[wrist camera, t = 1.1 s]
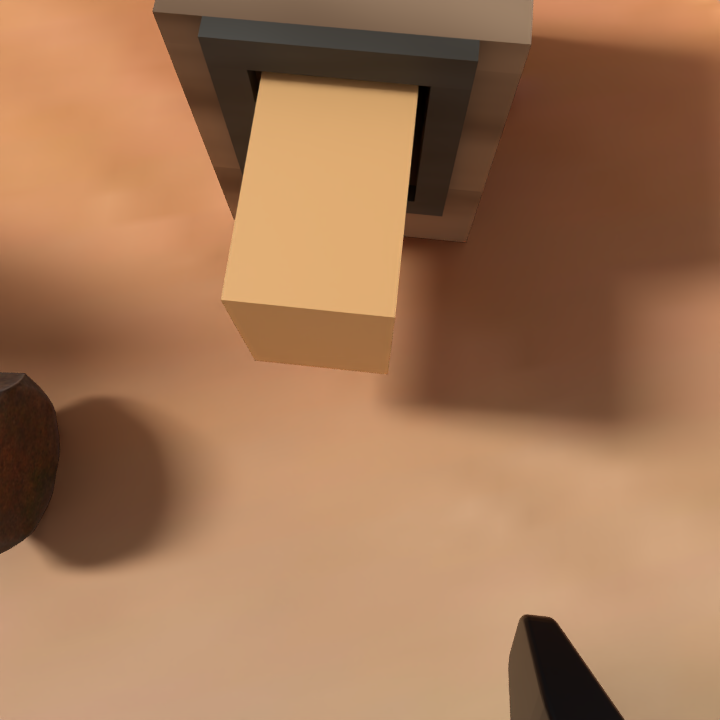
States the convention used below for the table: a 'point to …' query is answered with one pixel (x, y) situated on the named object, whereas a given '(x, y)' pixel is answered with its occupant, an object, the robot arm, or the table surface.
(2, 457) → the bolt
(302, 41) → the housing
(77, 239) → the table surface
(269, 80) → the peg
